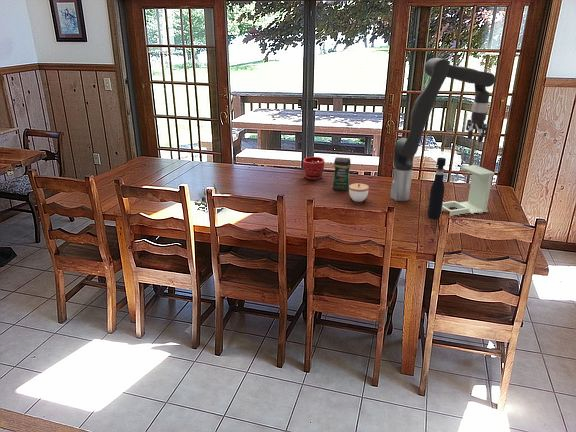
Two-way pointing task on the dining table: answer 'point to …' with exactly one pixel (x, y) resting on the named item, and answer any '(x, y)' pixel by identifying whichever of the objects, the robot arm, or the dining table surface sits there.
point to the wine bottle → (437, 192)
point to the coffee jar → (341, 173)
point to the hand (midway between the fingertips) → (474, 140)
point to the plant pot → (313, 167)
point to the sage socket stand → (473, 192)
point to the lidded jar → (358, 191)
